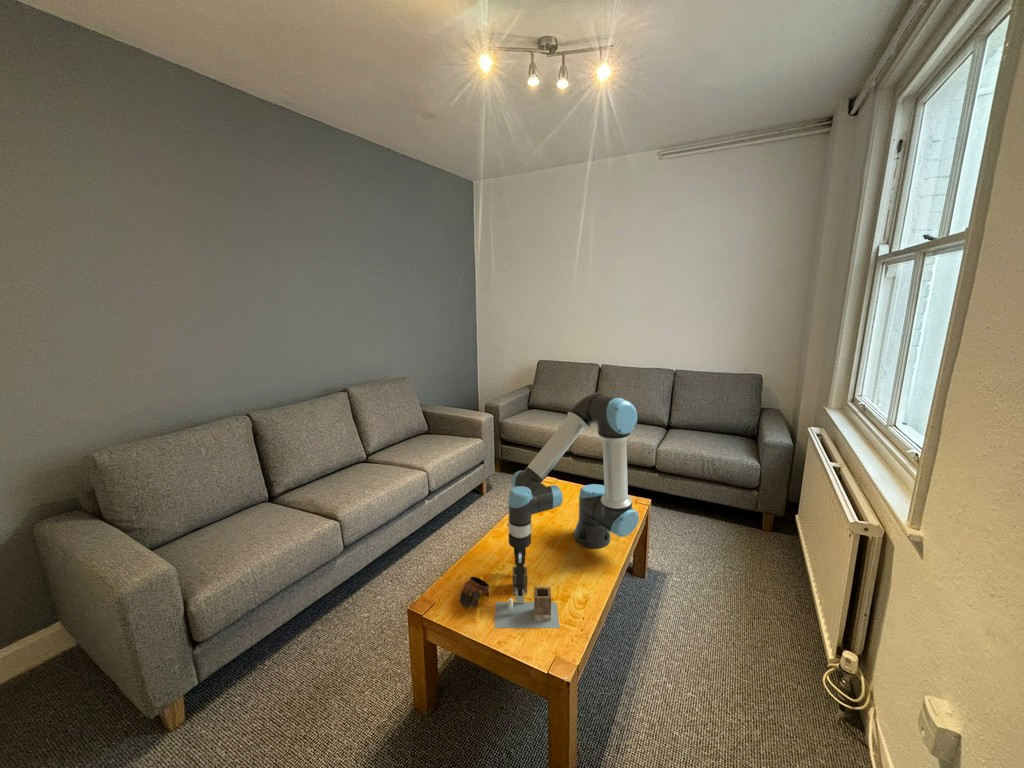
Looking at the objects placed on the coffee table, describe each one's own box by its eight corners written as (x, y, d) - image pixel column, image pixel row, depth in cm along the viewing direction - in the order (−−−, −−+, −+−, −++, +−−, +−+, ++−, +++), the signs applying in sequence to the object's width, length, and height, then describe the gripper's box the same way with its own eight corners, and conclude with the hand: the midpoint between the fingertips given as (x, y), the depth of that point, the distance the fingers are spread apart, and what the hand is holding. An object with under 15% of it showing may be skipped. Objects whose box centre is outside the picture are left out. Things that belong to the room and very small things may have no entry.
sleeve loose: (526, 586, 147) (526, 566, 146) (527, 596, 142) (527, 576, 141) (512, 586, 147) (512, 566, 146) (512, 596, 142) (512, 576, 141)
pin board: (556, 605, 138) (556, 587, 137) (559, 631, 128) (560, 611, 126) (495, 605, 138) (495, 586, 137) (494, 631, 128) (494, 611, 126)
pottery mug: (456, 595, 144) (465, 572, 145) (480, 604, 146) (490, 581, 147) (459, 611, 132) (470, 586, 133) (486, 621, 134) (496, 595, 135)
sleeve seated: (549, 608, 135) (549, 587, 134) (550, 620, 130) (551, 598, 129) (534, 608, 135) (534, 587, 134) (534, 620, 130) (535, 598, 129)
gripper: (509, 513, 152) (509, 565, 157) (508, 554, 128) (508, 614, 132) (529, 513, 152) (529, 565, 157) (532, 555, 128) (531, 615, 132)
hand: (519, 588), depth 144 cm, fingers open, 13 cm apart
